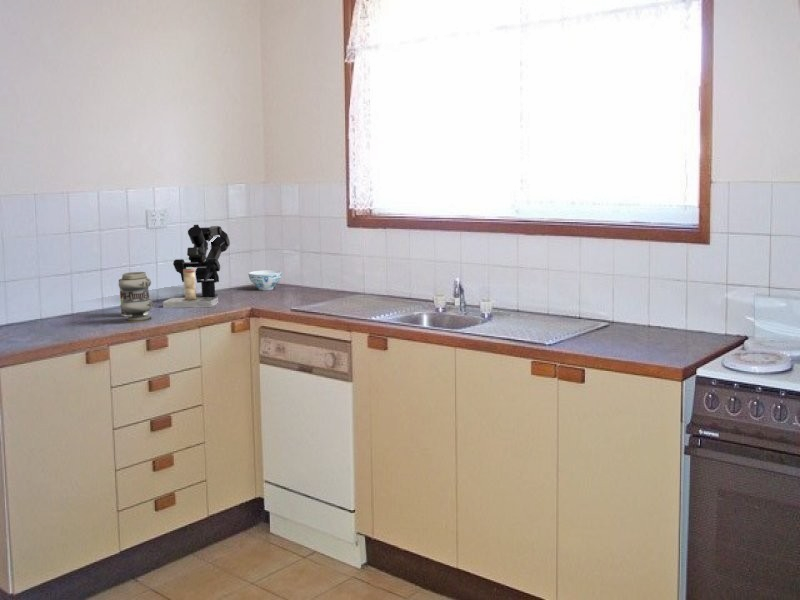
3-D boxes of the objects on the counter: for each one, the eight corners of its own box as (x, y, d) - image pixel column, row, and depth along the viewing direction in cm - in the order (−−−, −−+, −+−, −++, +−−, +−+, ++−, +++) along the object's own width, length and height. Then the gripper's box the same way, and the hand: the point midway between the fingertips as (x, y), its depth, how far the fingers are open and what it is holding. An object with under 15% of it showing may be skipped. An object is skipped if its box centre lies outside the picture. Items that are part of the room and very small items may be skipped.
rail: (171, 304, 397) (170, 298, 396) (218, 303, 395) (217, 297, 394) (163, 307, 387) (162, 301, 386) (211, 307, 385) (211, 300, 385)
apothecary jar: (120, 319, 362) (116, 272, 360) (152, 316, 366) (149, 269, 364) (122, 324, 351) (119, 275, 348) (156, 321, 355) (152, 273, 353)
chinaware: (271, 285, 443) (270, 269, 442) (289, 288, 432) (288, 271, 431) (243, 289, 434) (242, 272, 432) (260, 292, 422) (259, 275, 421)
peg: (191, 304, 394) (189, 268, 392) (199, 305, 391) (196, 268, 389) (183, 306, 390) (180, 269, 388) (190, 306, 388) (188, 270, 386)
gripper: (172, 240, 398) (166, 270, 389) (216, 239, 396) (210, 269, 387) (180, 256, 407) (173, 286, 398) (222, 255, 406) (217, 285, 396)
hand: (193, 281), depth 395 cm, fingers open, 9 cm apart
